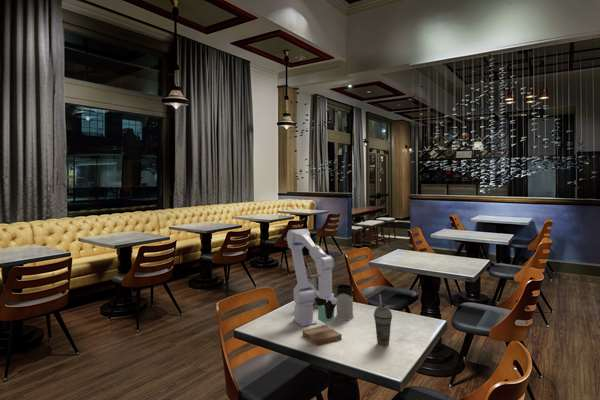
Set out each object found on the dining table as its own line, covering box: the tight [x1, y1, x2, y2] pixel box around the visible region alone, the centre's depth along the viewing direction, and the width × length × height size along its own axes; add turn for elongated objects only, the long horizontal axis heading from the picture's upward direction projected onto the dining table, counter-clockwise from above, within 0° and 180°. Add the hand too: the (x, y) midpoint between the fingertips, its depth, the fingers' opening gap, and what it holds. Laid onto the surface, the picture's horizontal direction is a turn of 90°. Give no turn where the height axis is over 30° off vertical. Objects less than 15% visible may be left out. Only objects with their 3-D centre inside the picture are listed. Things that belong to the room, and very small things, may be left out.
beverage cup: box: [373, 293, 393, 347], centre depth 146 cm, size 7×7×20 cm
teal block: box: [317, 305, 335, 324], centre depth 155 cm, size 5×5×6 cm
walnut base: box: [302, 324, 343, 346], centre depth 154 cm, size 12×12×2 cm
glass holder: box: [335, 284, 355, 321], centre depth 180 cm, size 9×14×15 cm, turn 167°
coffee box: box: [307, 273, 319, 309], centre depth 195 cm, size 9×6×16 cm
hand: (325, 316), depth 155 cm, fingers closed on teal block, 5 cm apart
